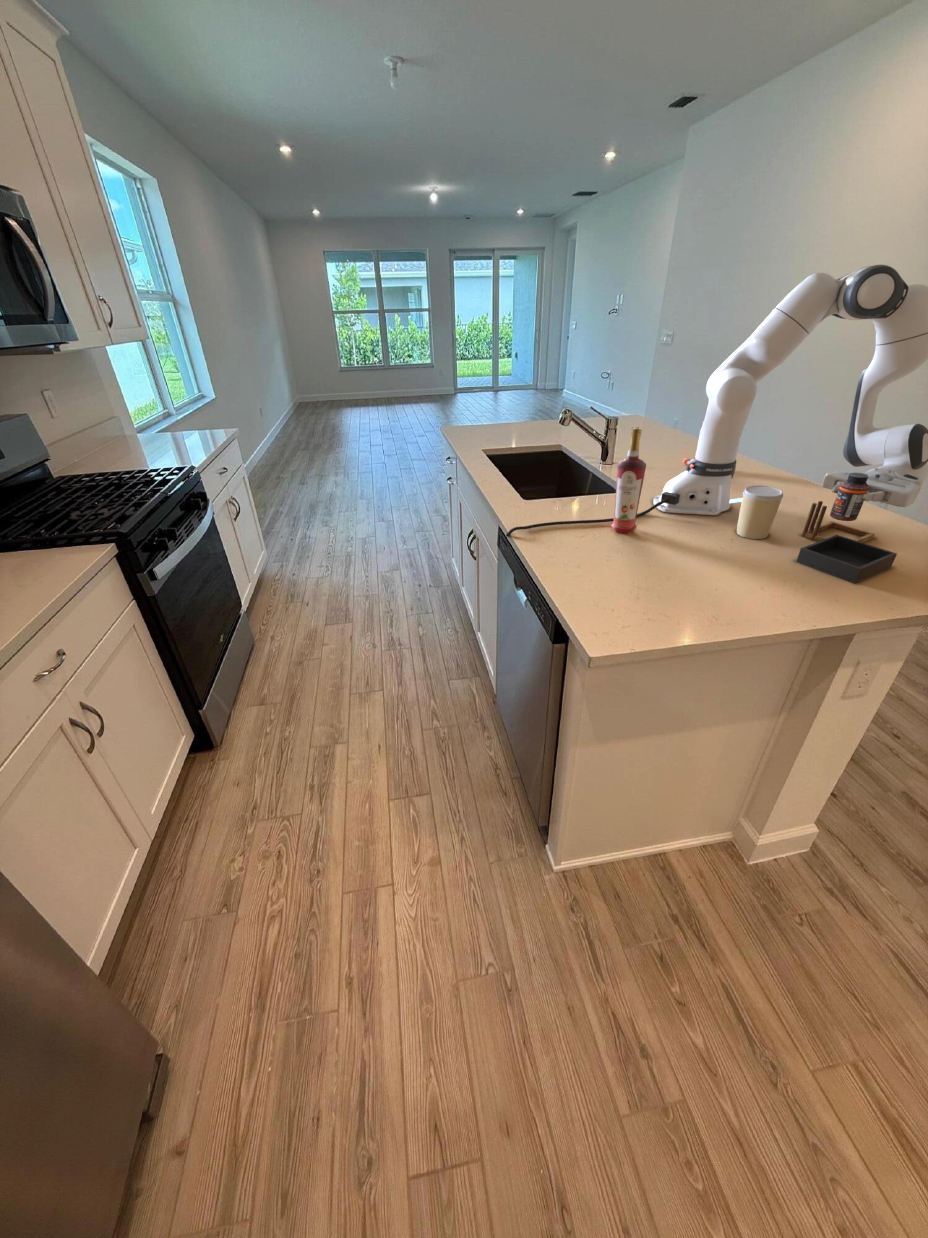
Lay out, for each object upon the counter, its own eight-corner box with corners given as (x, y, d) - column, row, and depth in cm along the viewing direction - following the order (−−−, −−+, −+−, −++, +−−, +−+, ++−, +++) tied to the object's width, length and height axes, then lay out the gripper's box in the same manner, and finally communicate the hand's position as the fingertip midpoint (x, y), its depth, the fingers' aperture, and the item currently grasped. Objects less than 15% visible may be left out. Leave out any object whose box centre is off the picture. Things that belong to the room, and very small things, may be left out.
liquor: (638, 527, 146) (653, 425, 131) (634, 536, 140) (649, 431, 125) (612, 524, 149) (624, 424, 134) (607, 533, 143) (619, 430, 128)
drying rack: (843, 549, 128) (857, 515, 123) (800, 535, 136) (811, 503, 131) (873, 538, 133) (887, 505, 128) (830, 525, 141) (841, 493, 136)
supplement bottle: (823, 514, 134) (838, 471, 128) (845, 512, 134) (861, 470, 128) (839, 522, 129) (856, 478, 123) (862, 520, 129) (879, 476, 123)
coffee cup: (768, 528, 141) (780, 486, 135) (773, 541, 134) (787, 497, 127) (731, 525, 144) (741, 484, 137) (734, 538, 136) (746, 495, 130)
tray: (855, 583, 113) (861, 569, 111) (796, 561, 123) (800, 548, 121) (891, 567, 119) (897, 553, 117) (831, 547, 129) (836, 534, 127)
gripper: (844, 462, 139) (813, 471, 134) (931, 481, 124) (900, 491, 118) (836, 485, 143) (805, 494, 137) (919, 506, 127) (889, 517, 122)
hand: (850, 493), depth 128 cm, fingers closed on supplement bottle, 6 cm apart
